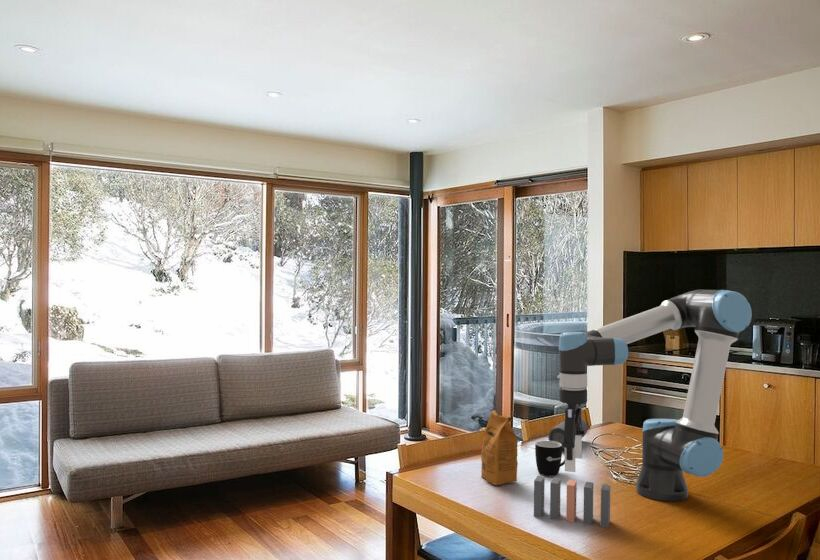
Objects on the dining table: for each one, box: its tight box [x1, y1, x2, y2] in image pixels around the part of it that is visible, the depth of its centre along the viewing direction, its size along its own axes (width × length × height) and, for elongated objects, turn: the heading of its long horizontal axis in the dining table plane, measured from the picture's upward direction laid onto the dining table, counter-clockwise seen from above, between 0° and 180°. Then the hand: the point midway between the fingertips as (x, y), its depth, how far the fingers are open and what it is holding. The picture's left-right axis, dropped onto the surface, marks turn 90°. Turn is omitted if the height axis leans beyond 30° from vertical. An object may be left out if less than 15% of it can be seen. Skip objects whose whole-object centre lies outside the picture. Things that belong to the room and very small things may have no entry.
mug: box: [534, 440, 565, 477], centre depth 220 cm, size 12×9×10 cm
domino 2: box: [549, 477, 562, 521], centre depth 180 cm, size 2×5×10 cm, turn 158°
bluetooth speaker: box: [548, 418, 589, 449], centre depth 256 cm, size 23×9×10 cm, turn 147°
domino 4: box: [582, 481, 595, 526], centre depth 177 cm, size 2×5×10 cm, turn 158°
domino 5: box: [600, 483, 611, 528], centre depth 175 cm, size 2×5×10 cm, turn 158°
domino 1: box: [533, 475, 546, 518], centre depth 182 cm, size 2×5×10 cm, turn 158°
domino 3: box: [565, 479, 578, 523], centre depth 179 cm, size 2×5×10 cm, turn 158°
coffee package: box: [480, 410, 519, 486], centre depth 212 cm, size 10×12×22 cm
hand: (573, 464), depth 179 cm, fingers open, 13 cm apart
